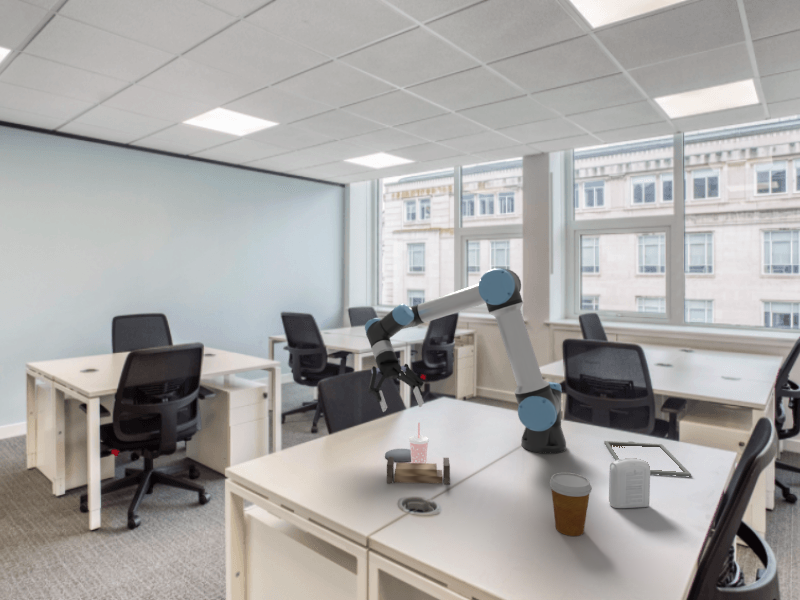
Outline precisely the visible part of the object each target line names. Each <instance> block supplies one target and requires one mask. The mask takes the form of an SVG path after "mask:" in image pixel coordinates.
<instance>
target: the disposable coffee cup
mask: <svg viewBox="0 0 800 600" xmlns="http://www.w3.org/2000/svg"><path fill="white" fill-rule="evenodd" d="M548 483H549V486H550V490H551V497H552V507H553V516H554V524H555V525H554V526H555V529H556V531H558V532H559V533H561V534H562V535H566V536H568V537H569V536H570V537H579V536H582V535H583V534H584V533H585V525H586V519H587V512H588V506H589V499H590V493H591V491H592V489H593V486H592V485H591V482H590V480H589V479H588V478H587V477H586V476H584V475H582V474H578V473H574V472H556V473H554V474H552V475H551V476H550V480H549V482H548Z"/></svg>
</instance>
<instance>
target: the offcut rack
mask: <svg viewBox="0 0 800 600" xmlns="http://www.w3.org/2000/svg"><path fill="white" fill-rule="evenodd" d="M442 459H443V461H442V462H443V463H442V464H443V465H442V466H443V469H438V467H437V463H428V462H426V463H411V462H396V465H395V462H394V457H388V459H387V461H386V484H393V483H403V484H404V483H406V484H408V483H409V484H411V483H413V484H414V483H415V484H444V485H451V479H450V478H451V462H450V459H449V457H442ZM394 467H395V468H394Z"/></svg>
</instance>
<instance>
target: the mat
mask: <svg viewBox="0 0 800 600" xmlns="http://www.w3.org/2000/svg"><path fill="white" fill-rule="evenodd" d="M384 457H385V459H386V458H387V460H388V457H394V463H395V462H396V463H410V462H411V449H410V448H393V449H389V450H387V451H386V452H385V453H384Z"/></svg>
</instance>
